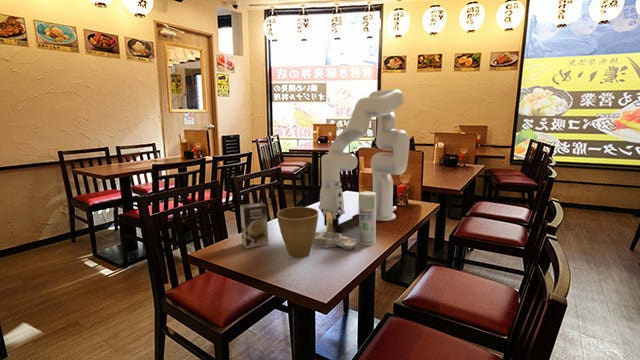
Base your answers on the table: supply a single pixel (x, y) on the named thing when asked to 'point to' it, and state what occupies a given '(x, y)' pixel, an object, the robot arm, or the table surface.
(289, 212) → the plant pot
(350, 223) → the brown wooden stick
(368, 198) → the spray can
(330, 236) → the two-arm fidget spinner
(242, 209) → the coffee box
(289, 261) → the table surface
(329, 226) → the brass pin
